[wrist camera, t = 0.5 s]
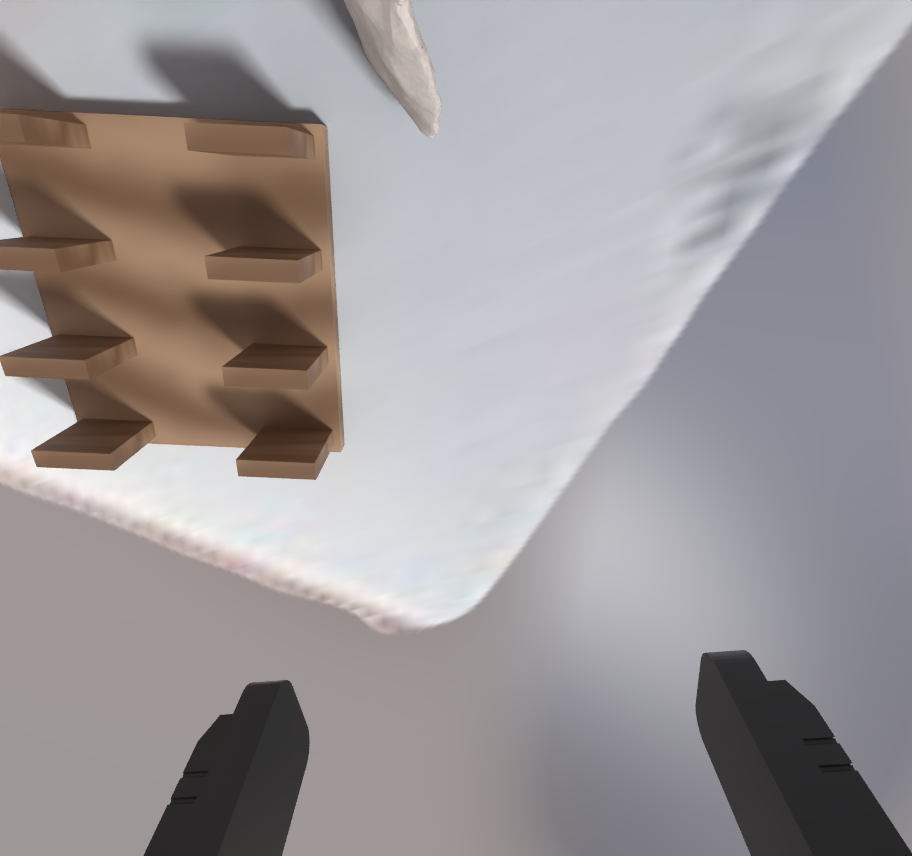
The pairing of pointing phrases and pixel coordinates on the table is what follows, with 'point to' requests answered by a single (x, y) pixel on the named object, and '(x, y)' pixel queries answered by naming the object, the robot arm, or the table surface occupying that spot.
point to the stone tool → (399, 57)
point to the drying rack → (179, 285)
